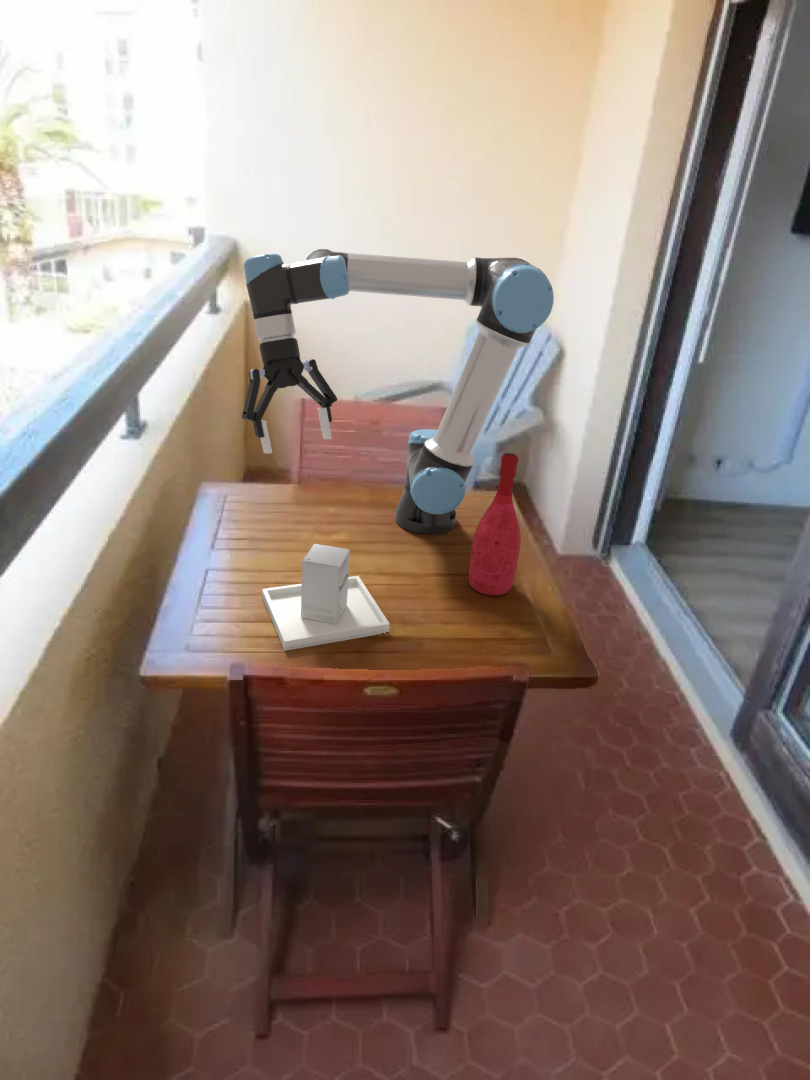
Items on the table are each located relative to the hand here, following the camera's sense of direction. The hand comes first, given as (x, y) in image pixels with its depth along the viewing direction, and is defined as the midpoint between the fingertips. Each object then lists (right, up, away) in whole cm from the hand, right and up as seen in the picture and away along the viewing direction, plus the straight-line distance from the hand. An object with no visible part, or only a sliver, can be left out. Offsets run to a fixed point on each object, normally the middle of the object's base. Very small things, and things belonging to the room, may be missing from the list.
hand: (298, 446), depth 147 cm
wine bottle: (+40, -29, +6) cm, 50 cm away
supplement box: (+6, -33, -8) cm, 35 cm away
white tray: (+6, -34, -8) cm, 35 cm away
